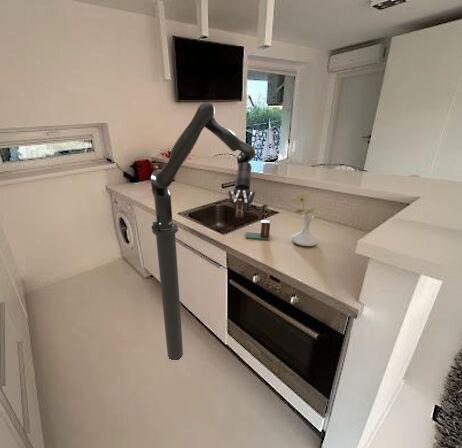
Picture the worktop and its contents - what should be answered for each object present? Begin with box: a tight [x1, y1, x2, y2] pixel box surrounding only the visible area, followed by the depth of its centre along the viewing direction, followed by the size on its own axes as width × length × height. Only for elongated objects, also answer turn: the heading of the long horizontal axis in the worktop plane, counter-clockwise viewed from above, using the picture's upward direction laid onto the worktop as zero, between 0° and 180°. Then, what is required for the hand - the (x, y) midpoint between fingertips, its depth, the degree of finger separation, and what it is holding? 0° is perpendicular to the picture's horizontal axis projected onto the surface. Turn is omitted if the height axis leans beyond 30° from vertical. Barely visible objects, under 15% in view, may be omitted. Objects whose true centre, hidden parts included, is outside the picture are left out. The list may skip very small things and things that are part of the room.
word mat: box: [245, 232, 270, 241], centre depth 125 cm, size 11×6×1 cm, turn 73°
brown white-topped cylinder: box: [260, 219, 271, 239], centre depth 122 cm, size 4×4×8 cm
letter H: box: [234, 199, 245, 219], centre depth 124 cm, size 4×4×8 cm
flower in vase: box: [291, 191, 319, 247], centre depth 112 cm, size 13×11×25 cm
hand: (239, 210), depth 122 cm, fingers closed on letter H, 4 cm apart
